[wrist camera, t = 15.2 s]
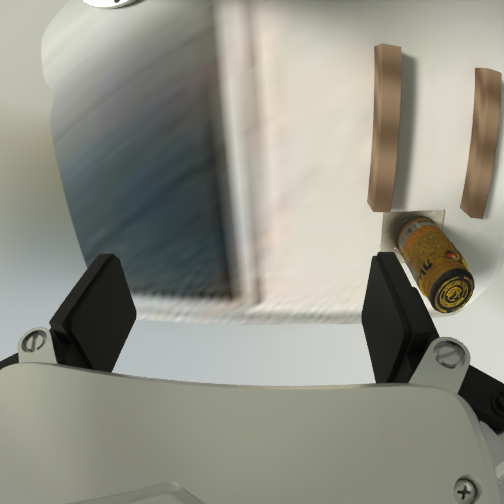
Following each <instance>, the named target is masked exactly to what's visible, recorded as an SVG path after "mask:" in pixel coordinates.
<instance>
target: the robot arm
mask: <svg viewBox="0 0 504 504" xmlns="http://www.w3.org/2000/svg"><path fill="white" fill-rule="evenodd" d="M82 1H83V2H85V3H86V4H88V5H90V6H93V7H97V8H103V9H111V8H117V7H122V6H125V5H127V4H130V3H132V2H134V1H136V0H82ZM136 314H137V313H136V309H135V306H134V303H133V300H132V297H131V294H130V291H129V288H128V285H127V282H126V279H125V275H124V272H123V269H122V266H121V263H120V260H119V258H117V257H116V256H115V255H114V254H99V255H98V256H97V258H96V259H95V260H94V261H93V263H92V264H91V265H90V267H89V268H88V269H87V270H86V272H85V273H84V274H83V276H82V277H81V278H80V280H79V281H78V282H77V284H76V285H75V286H74V288H73V289H72V290H71V292H70V293H69V295H68V296H67V297H66V299H65V300H64V302H63V303H62V304H61V306H60V307H59V309H58V310H57V312H56V313H55V314H54V316H53V317H52V319H51V320H50V322H49V323H50V325H51V329H50V330H48V329H46V328H43V327H37V328H34V329H31V330H30V331H28V332H27V333H26V334H24V335H23V336H22V338H21V339H20V341H19V343H18V353H16V354H14V355H13V356H10V357H8V358H6V359H4V360H3V361H1V362H0V504H504V384H503V383H502V382H500V381H498V380H496V379H494V378H493V377H491V376H489V375H487V374H486V373H484V372H482V371H480V370H478V369H477V368H475V367H473V366H471V365H469V364H470V353H469V351H468V349H467V348H466V346H465V345H463V343H462V342H460V341H458V340H457V339H454V338H451V337H439V334H438V332H437V330H436V328H435V326H434V323H433V321H432V319H431V317H430V315H429V312H428V310H427V308H426V306H425V304H424V302H423V300H422V298H421V296H420V294H419V292H418V290H417V289H416V288H415V287H412V286H411V284H410V282H409V280H408V278H407V276H406V274H405V272H404V270H403V268H402V266H401V264H400V262H399V260H398V258H397V256H396V254H395V253H394V252H378V254H377V256H373V257H372V262H371V268H370V273H369V279H368V284H367V290H366V295H365V300H364V305H363V310H362V325H363V329H364V333H365V337H366V341H367V345H368V349H369V354H370V358H371V362H372V367H373V371H374V376H375V381H376V383H375V384H353V385H323V386H254V385H228V384H227V385H226V384H210V383H197V382H183V381H174V380H164V379H154V378H146V377H139V376H131V375H124V374H117V373H111V372H112V370H113V368H114V366H115V363H116V361H117V359H118V357H119V354H120V352H121V350H122V348H123V346H124V343H125V341H126V339H127V337H128V335H129V333H130V330H131V328H132V326H133V324H134V322H135V320H136Z"/></svg>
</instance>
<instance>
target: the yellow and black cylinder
mask: <svg viewBox="0 0 504 504" xmlns="http://www.w3.org/2000/svg"><path fill="white" fill-rule="evenodd" d="M443 218H444V210H443V211H413V212H393V213H383V224H382V237H381V252H394V253H395V254H396V256H397V258H398V260H399V262H400V263H406V265H407V266H408V268H409V270H410V271H411V273H412V275H413V277H414V280H415V281H416V283H417V285H418V287H419V289H420V291H421V292H422V294H423V295H424V296H426V297H427V298H428V300H429V301H430V303H431V305H432V307H433V308H434V310H436V311H439V312H441V313H450V312H454V311H456V310H458V309H460V308H462V307H463V306H464V305H465V304H466V303H467V302H468V301H469V299H470V298H471V296H472V293H473V290H474V279H473V277H472V275H471V273H470V272H469V270H468V269H467V265H466V262H465V260H464V258H463V257H462V255H461V254H460V252H459V251H458V250H457V249H456V248H455V247H454V245H453V243H451V242H450V240H449V239H448V238H447V237H446V235H445V234H444V233H443V232H442V231H441V230H442V224H443ZM405 220H406V221H405ZM394 247H395V248H396V249H394ZM397 249H398V251H397Z"/></svg>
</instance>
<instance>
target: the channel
mask: <svg viewBox="0 0 504 504" xmlns="http://www.w3.org/2000/svg"><path fill="white" fill-rule="evenodd" d="M374 51H375V87H374V120H373V140H372V155H371V168H370V179H369V190H368V199H367V202H368V204H369V206H370V207H371V209H372V211H373V212H389V213H390V210H391V203H392V196H393V188H394V179H395V170H396V161H397V150H398V137H399V122H400V102H401V47H398V46H392V45H386V44H381V45H378V46H375V47H374ZM501 75H502V73H500V72H497V71H494V70H491V69H487V68H475V98H474V114H473V126H472V136H471V144H470V152H469V160H468V167H467V173H466V179H465V185H464V191H463V196H462V201H461V206H460V208H461V209H462V210H463V211H464V212H465V213H466V214H467V215H468V216H469V217H470V218H481V219H483V216H484V211H485V207H486V202H487V198H488V193H489V188H490V183H491V177H492V172H493V165H494V159H495V152H496V145H497V136H498V127H499V116H500V102H501Z"/></svg>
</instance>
